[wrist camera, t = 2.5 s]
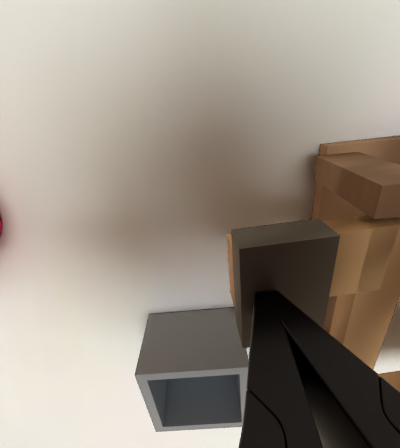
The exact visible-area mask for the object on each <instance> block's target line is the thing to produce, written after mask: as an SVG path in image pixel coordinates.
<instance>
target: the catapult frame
mask: <svg viewBox="0 0 400 448" xmlns="http://www.w3.org/2000/svg"><path fill="white" fill-rule="evenodd" d="M314 180H316V186H315V194H314V202H313V211H312V219H317V218H319V219H320V220H322V221H327V220H335V219H342V218H350V217H358V216H365V215H368V216H370V217H372V218H373V219H381V218H392V217H400V136H392V137H383V138H373V139H364V140H355V141H346V142H336V143H327V144H320V152H319V156H317V157H316V165H315V174H314ZM336 300H337V296H332V297H329V300H328V305H327V310H326V316H325V321H324V326H323V329H324V330H326V331H327V332H328V333H329V334H330V329H331V324H332V319H333V314H334V309H335V305H336Z"/></svg>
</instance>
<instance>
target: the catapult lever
mask: <svg viewBox="0 0 400 448" xmlns="http://www.w3.org/2000/svg"><path fill="white" fill-rule="evenodd" d="M227 245H228V261H229V277H230V293H231V296H232V300H233V304H234V307H235V316H236V325H237V328H238V332H239V336H240V340H241V344H242V347H243V348H247V347H250V340H251V329H252V317H253V306H254V294H255V292H259V291H269V290H277V291H279V292H280V293H281V294H282V295H284V296H285V297H286V298H287V299H288V300H290V301H291V302H292V303H293V304H294V305H296V306H297V307H298V308H299V309H300V310H302V311H303V312H304V313H305V314H306V315H308V316H309V317H310V318H311V319H312V320H314V321H315V322H316V323H317V324H318V325H320V326H321V327H322V328H323V326H324V321H325V316H326V310H327V305H328V300H329V297H332V296H337V300H336V305H335V309H334V314H333V319H332V324H331V329H330V335H332V336H333V337H334V338H335V339H337V340H338V341H339V342H340V343H341V344H343V345H344V346H345V347H346V348H347V349H349V350H350V351H351V352H352V353H353V354H355V355H356V356H357V357H358V358H359V359H361V360H362V361H363V362H364V363H365V364H367V365H368V366H369V367H370V368H371V369H374V366H375V363H376V360H377V358H378V355H379V352H380V349H381V347H382V344H383V341H384V338H385V336H386V333H387V330H388V327H389V325H390V322H391V319H392V317H393V314H394V311H395V308H396V306H397V303H398V300H399V297H400V217H392V218H381V219H373V218H372V217H370V216H368V215H365V216H358V217H350V218H342V219H335V220H327V221H322V220H320V219H319V218H317V219H310V220H302V221H294V222H287V223H279V224H271V225H264V226H256V227H248V228H241V229H233V230H231V233H227ZM378 375H379V377H382V378H384V379H385V380H386V381H387V382H388V383H390V384H391V385H392V386H393V387H395V388H396V389H397V390H398V391H399V392H400V371H395V372H388V373H382V374H378Z"/></svg>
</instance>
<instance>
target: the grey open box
mask: <svg viewBox="0 0 400 448" xmlns="http://www.w3.org/2000/svg"><path fill="white" fill-rule="evenodd" d="M248 364H249V361H248V356H247V351H246V348H243V347H242V344H241V340H240V336H239V332H238V328H237V325H236V316H235V307H234V308H221V309H209V310H197V311H184V312H172V313H159V314H149V316H148V321H147V325H146V329H145V333H144V338H143V342H142V346H141V350H140V355H139V359H138V363H137V368H136V372H135V377H136V380H137V383H138V385H139V388H140V390H141V393H142V396H143V398H144V401H145V404H146V406H147V409H148V412H149V414H150V417H151V420H152V422H153V425H154V427H155V430H156V432H161V431H178V430H195V429H212V428H229V427H242V425H243V416H244V408H245V397H246V387H247V375H248Z"/></svg>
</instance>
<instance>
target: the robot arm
mask: <svg viewBox="0 0 400 448" xmlns="http://www.w3.org/2000/svg"><path fill="white" fill-rule="evenodd" d="M239 448H400V392H399V391H398V390H397V389H396V388H395V387H393V386H392V385H391V384H390V383H388V382H387V381H386V380H385V379H384V378H382V377H379V375H378V374H377V373H376V372H375V371H374V370H373V369H371V368H370V367H369V366H368V365H367V364H365V363H364V362H363V361H362V360H361V359H359V358H358V357H357V356H356V355H355V354H353V353H352V352H351V351H350V350H349V349H347V348H346V347H345V346H344V345H343V344H341V343H340V342H339V341H338V340H337V339H335V338H334V337H333V336H332V335H330V334H329V333H328V332H327V331H326V330H324V329H323V328H322V327H321V326H320V325H318V324H317V323H316V322H315V321H314V320H312V319H311V318H310V317H309V316H308V315H306V314H305V313H304V312H303V311H302V310H300V309H299V308H298V307H297V306H296V305H294V304H293V303H292V302H291V301H290V300H288V299H287V298H286V297H285V296H284V295H282V294H281V293H280V292H279V291H277V290H269V291H259V292H255V294H254V306H253V317H252V329H251V340H250V352H249V364H248V375H247V387H246V397H245V408H244V416H243V425H242V432H241V438H240V443H239Z"/></svg>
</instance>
